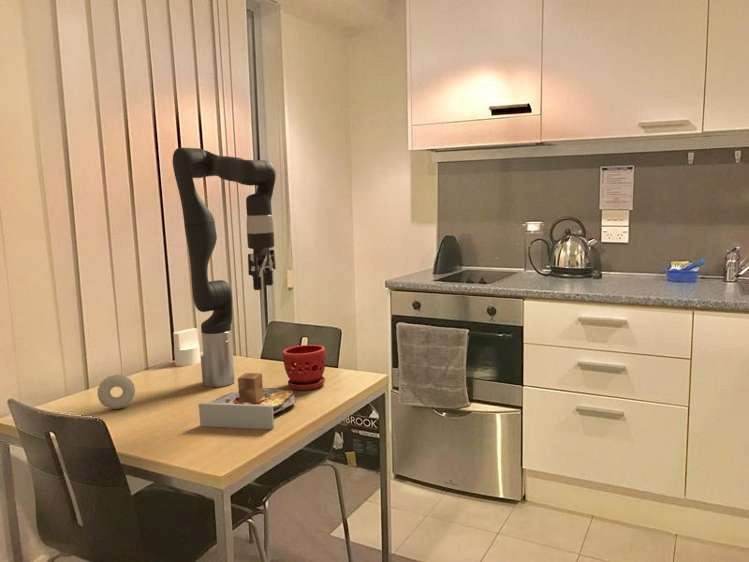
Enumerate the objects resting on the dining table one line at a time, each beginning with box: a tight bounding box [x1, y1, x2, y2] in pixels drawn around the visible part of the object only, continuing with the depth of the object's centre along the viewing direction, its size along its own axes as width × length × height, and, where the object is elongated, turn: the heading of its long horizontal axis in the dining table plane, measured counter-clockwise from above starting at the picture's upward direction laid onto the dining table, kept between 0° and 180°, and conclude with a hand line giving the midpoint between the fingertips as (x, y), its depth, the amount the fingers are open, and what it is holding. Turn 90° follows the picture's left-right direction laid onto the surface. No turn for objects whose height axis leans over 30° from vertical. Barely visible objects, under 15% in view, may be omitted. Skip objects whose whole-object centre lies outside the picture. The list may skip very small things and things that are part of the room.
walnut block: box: [237, 372, 264, 403], centre depth 168 cm, size 5×5×7 cm
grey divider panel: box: [198, 402, 275, 430], centre depth 154 cm, size 20×1×6 cm, turn 78°
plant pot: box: [282, 344, 326, 391], centre depth 187 cm, size 13×13×12 cm
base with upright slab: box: [172, 327, 201, 367], centre depth 220 cm, size 9×9×12 cm
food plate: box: [208, 387, 297, 415], centre depth 169 cm, size 25×23×4 cm
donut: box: [97, 374, 136, 410], centre depth 171 cm, size 10×3×10 cm, turn 110°
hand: (263, 287), depth 173 cm, fingers open, 8 cm apart
